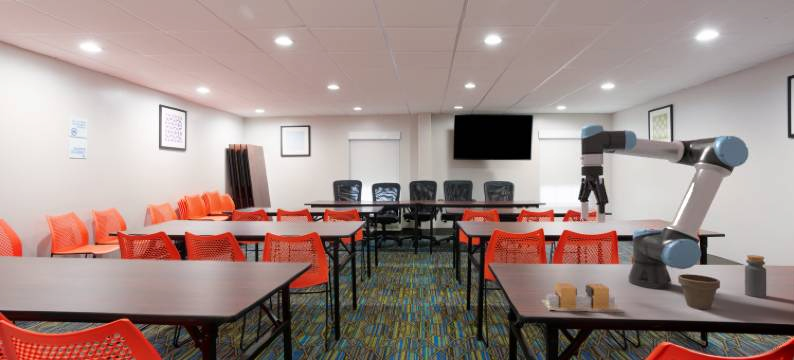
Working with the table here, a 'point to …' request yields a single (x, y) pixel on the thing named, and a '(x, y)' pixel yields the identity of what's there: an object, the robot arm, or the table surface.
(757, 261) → the bottle
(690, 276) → the flower pot
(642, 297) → the table surface
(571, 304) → the orange cube
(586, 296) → the rail
